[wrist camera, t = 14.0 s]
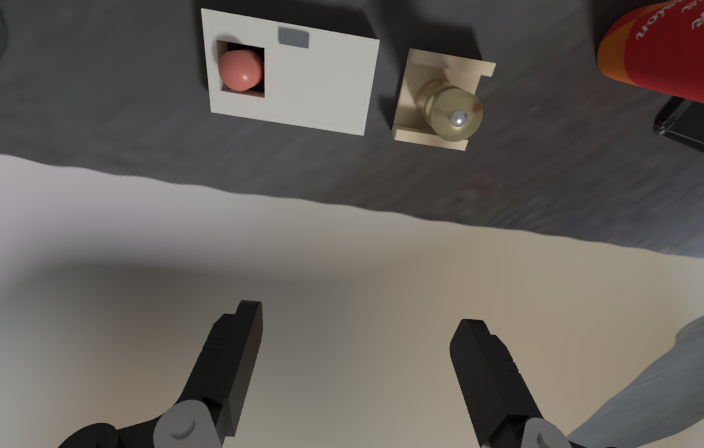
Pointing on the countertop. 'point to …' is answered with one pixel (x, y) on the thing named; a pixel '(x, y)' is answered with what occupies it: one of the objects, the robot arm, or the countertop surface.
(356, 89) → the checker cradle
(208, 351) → the robot arm
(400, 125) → the beige channel block
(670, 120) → the phone
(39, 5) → the countertop surface
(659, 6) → the paper cup
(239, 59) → the button
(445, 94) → the cell
